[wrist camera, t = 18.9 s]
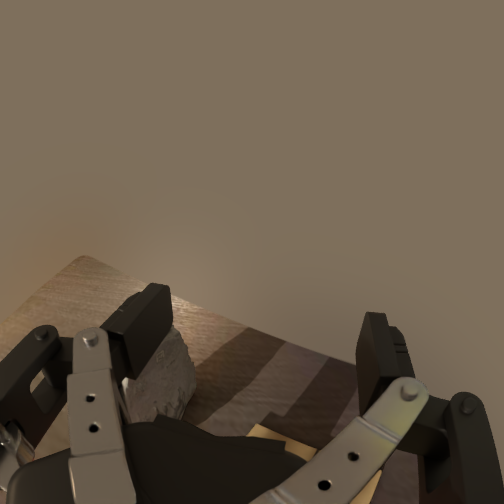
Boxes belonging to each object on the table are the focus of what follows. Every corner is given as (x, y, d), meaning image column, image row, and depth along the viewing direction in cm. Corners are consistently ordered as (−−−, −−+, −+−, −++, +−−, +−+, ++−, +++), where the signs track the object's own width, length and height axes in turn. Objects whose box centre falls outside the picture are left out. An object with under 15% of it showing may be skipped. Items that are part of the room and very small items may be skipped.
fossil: (135, 497, 22) (83, 418, 16) (90, 465, 25) (34, 376, 19) (214, 398, 37) (209, 302, 31) (172, 380, 39) (158, 286, 33)
